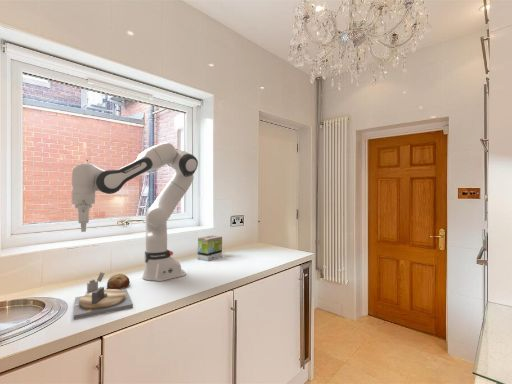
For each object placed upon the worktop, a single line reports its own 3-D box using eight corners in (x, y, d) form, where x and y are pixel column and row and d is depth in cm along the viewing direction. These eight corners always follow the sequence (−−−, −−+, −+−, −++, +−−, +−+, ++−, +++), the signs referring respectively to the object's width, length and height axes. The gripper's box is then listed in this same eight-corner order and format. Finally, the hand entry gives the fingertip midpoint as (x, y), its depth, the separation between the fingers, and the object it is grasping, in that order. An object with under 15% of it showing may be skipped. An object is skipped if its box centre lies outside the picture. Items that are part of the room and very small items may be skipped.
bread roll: (106, 293, 138) (99, 281, 135) (124, 279, 146) (117, 267, 143) (117, 298, 133) (110, 284, 130) (135, 283, 140) (129, 270, 137)
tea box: (208, 261, 186) (208, 239, 186) (197, 259, 192) (197, 237, 192) (222, 256, 199) (222, 236, 199) (211, 255, 205) (211, 234, 204)
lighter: (88, 292, 129) (88, 275, 129) (87, 291, 131) (87, 274, 130) (104, 288, 135) (104, 272, 134) (103, 287, 136) (103, 271, 136)
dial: (92, 292, 124) (92, 279, 124) (131, 292, 126) (132, 279, 125) (69, 309, 108) (69, 294, 107) (115, 308, 109) (115, 293, 108)
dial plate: (126, 292, 130) (126, 288, 130) (132, 307, 113) (132, 303, 113) (75, 300, 120) (75, 296, 120) (73, 319, 103) (73, 314, 103)
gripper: (92, 200, 116) (92, 234, 116) (91, 199, 134) (91, 228, 134) (74, 201, 113) (74, 235, 113) (75, 199, 130) (75, 229, 131)
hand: (83, 231), depth 124 cm, fingers closed
